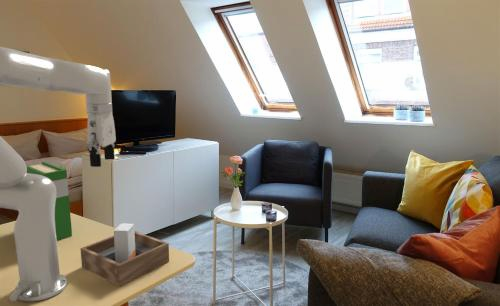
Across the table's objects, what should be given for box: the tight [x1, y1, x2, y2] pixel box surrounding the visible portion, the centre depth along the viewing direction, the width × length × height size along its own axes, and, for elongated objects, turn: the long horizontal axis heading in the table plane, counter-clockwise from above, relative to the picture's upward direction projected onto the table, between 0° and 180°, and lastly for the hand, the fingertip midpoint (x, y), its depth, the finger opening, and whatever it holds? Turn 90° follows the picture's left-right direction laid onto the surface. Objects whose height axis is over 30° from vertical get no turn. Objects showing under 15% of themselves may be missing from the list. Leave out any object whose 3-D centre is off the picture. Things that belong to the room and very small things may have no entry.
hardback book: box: [26, 161, 73, 242], centre depth 144 cm, size 18×7×24 cm, turn 49°
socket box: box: [80, 230, 170, 287], centre depth 123 cm, size 18×18×6 cm
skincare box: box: [113, 222, 136, 263], centre depth 122 cm, size 6×4×12 cm
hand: (103, 162), depth 130 cm, fingers open, 9 cm apart
